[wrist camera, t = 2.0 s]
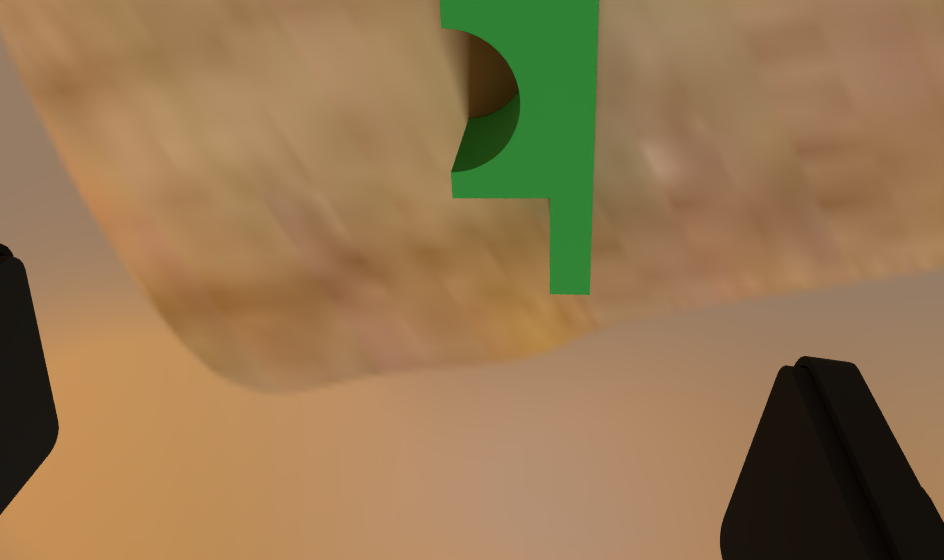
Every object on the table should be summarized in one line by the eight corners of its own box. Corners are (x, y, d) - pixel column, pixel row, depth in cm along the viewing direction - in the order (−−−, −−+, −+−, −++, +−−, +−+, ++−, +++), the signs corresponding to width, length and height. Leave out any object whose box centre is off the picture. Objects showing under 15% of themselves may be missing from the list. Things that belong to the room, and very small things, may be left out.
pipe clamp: (455, -156, 21) (428, -151, 17) (597, -163, 21) (604, -159, 17) (474, 225, 27) (458, 295, 23) (587, 225, 26) (590, 297, 22)
